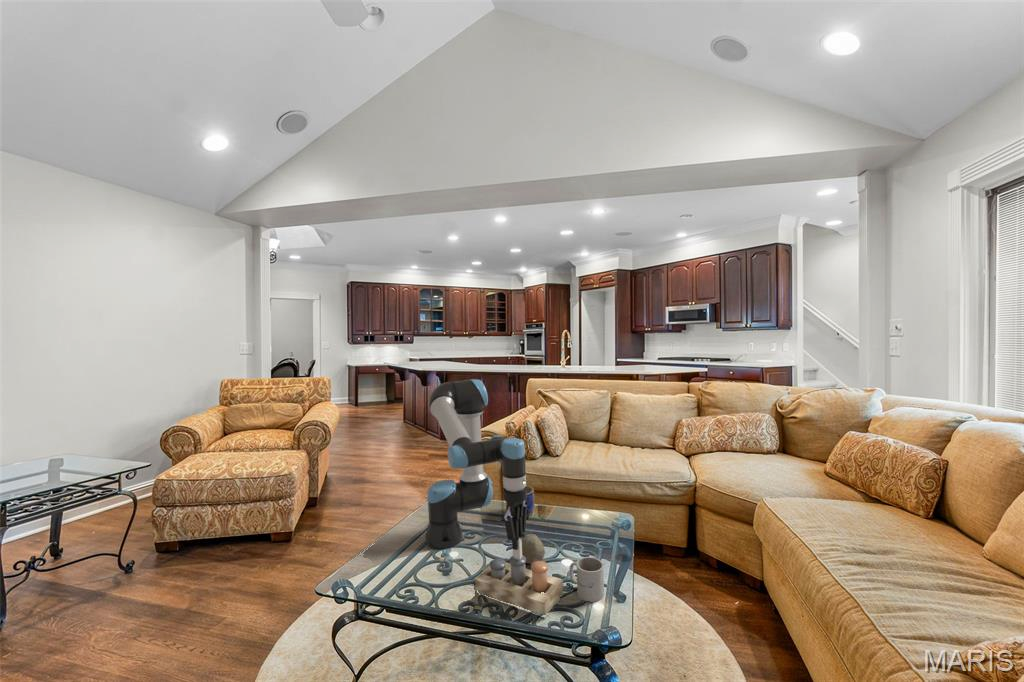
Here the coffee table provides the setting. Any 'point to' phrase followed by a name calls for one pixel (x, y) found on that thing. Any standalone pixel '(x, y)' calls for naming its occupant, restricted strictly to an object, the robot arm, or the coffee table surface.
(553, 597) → the block
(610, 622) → the coffee table surface
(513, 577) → the slate plug
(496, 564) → the slate plug
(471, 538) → the coffee table surface
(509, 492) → the robot arm
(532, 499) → the planter
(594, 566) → the mug
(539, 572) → the terracotta plug
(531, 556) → the decorative stone
